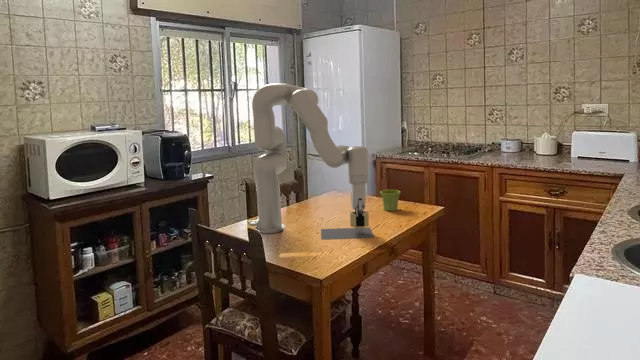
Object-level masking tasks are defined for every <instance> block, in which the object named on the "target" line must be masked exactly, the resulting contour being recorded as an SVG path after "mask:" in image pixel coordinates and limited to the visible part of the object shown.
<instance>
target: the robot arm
mask: <svg viewBox="0 0 640 360" xmlns="http://www.w3.org/2000/svg"><path fill="white" fill-rule="evenodd" d="M251 103H252V105H251V106H252V116H253V134H254V135H253V136H254V137H253V138H254V145H255V146H256V148H257V150H259V151H261V152H265V153H264V154H262V155H259V156H258V157H257V158H256V159H255V161H254V163H253V167H252V168H253V170H252V171H253V175H254V180H255V185H256V187H255V189H256V199H257V201H256V202H257V219H255V220H252V219H251V220H248V221H247V226H250V227H255V228H254V230H255V229H257V230H259V231H260V232H261V233H260V234H276V233H280V232H283V230H284V229H285V227H286V224H284V223H283V222H282V205H281V203H282V202H281V189H280V187H281V186H280V181H279V177H278V175H279V174H281V173H282V172H284V171H285V169H286V168H287V166H288V165H287V164H288V155H287V154H288V153H287V138H286V134H285V132H284V130H283V129H282V128H281V127H279V126H277V125H276V122H275V121H276V119H275V118H276V117H275V114H274V113H275V112H274V111H273V110H274V109H273V107H275V106H281V105H284V106H289V107H292V109H293V110H294V111H295V113H296V114H297V116H298V117H299V119H300V120H301V122H302V123H303V124H304V126H305V128H306V129H307V131H308V133H309V136H310V140H311V142H312V145H313V147H314V149H315V150H316V153H317V154H318V156H319V157H320V158H321V159H322V161H323V162H324V164H325V165H327V166H328V167H330V168H332V169H336V168H339V167H341V166H343V165H346V164H348V165H347V169H348V175H347V176H348V184H350V185H351V186H350V200H351V201H350V205H351V207H352V210H354V211H356V214H357V216H356V226H357V227H360V226H365V223H364V211H365V209H366V196H367V195H366V194H367V193H366V184H368V183H369V156H368V155H369V152H368V148H367V147H366V146H361V145H360V146H359V145H357V146H348V145H341V144H340V145H336V144H335V143H334V140H333V139H332V137H331V136H330V133H329V130H328V129H329V127H328V126H329V121H328V118H327V116H326V115H325V114H324V112H323V111H322V109H321V108H320V107H319V97H318V93H316V92H315V91H314V90H312V89H309V88H306V87H301V86H296V85H292V84H289V83H269V84H264V85H263V86H261V87H260V88H258V89H257V90H256V91H255V93H254V95H253V98H252V102H251ZM358 210H359V211H358Z"/></svg>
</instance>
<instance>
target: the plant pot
mask: <svg viewBox="0 0 640 360" xmlns="http://www.w3.org/2000/svg"><path fill="white" fill-rule="evenodd" d="M379 193H380V195H381V198H382V206H383V210H384V211H389V212H395V211H397V210H398V206H399V198H400V194H401V191H400V190H398V189H384V190H380V192H379Z"/></svg>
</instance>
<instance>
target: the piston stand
mask: <svg viewBox="0 0 640 360" xmlns="http://www.w3.org/2000/svg"><path fill="white" fill-rule="evenodd" d="M320 237H321V241H323V240H325V241H326V240H351V239H353V240H354V239H355V240H357V239H374V238H375V236H374V233H373V230H372V229H371V227H369V226H367V227H363V228H355V227H345V228H344V227H343V228H342V227H341V228H321V229H320Z"/></svg>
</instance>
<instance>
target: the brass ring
mask: <svg viewBox="0 0 640 360" xmlns="http://www.w3.org/2000/svg"><path fill="white" fill-rule="evenodd" d="M358 211H359V210H358ZM369 214H370V213H369V211H366V210H364V223H365V226H360V227H357V226H356V216H357V214H356V211H355V210H352V211H350V212H349V222H350V223H349V224H350V225H349V226H350V228H367V227H369V226H370V223H369V222H370V221H369V220H370V219H369V216H370V215H369Z"/></svg>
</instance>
